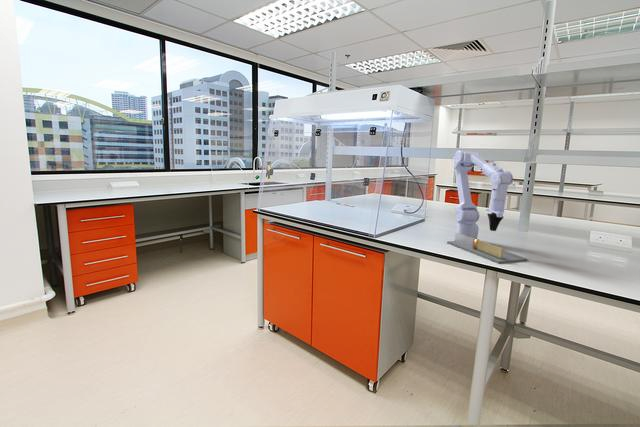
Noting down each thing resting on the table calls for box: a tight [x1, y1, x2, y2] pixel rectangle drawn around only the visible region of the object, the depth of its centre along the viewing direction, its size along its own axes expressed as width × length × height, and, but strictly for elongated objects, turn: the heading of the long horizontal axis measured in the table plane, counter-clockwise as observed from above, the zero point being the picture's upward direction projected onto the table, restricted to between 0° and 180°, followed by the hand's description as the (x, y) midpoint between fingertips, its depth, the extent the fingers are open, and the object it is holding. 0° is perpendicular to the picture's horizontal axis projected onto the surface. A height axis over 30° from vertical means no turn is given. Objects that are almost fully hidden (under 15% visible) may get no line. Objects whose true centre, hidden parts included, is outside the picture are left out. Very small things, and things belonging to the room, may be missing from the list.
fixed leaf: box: [454, 232, 475, 249], centre depth 144 cm, size 1×11×4 cm, turn 21°
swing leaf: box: [474, 238, 505, 258], centre depth 132 cm, size 2×14×4 cm, turn 19°
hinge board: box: [446, 240, 529, 264], centre depth 139 cm, size 16×28×1 cm, turn 20°
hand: (492, 230), depth 138 cm, fingers closed
